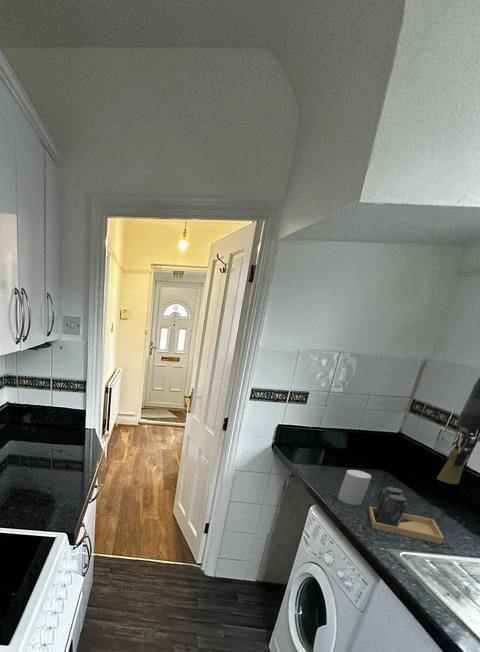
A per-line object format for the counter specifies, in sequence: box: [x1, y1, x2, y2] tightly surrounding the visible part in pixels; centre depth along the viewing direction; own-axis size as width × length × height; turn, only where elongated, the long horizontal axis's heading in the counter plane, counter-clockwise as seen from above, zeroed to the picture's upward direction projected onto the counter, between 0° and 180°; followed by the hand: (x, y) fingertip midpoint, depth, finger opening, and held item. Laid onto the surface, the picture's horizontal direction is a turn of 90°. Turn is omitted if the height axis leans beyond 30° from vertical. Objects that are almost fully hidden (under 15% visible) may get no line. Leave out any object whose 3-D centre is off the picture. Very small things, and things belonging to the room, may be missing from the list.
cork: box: [436, 448, 471, 485], centre depth 138 cm, size 6×6×11 cm
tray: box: [367, 506, 445, 545], centre depth 141 cm, size 19×15×3 cm
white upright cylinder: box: [337, 469, 372, 506], centre depth 157 cm, size 8×8×12 cm
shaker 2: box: [376, 495, 408, 527], centre depth 138 cm, size 6×6×11 cm
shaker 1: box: [373, 486, 404, 519], centre depth 145 cm, size 6×6×11 cm
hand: (455, 462), depth 137 cm, fingers closed on cork, 5 cm apart
